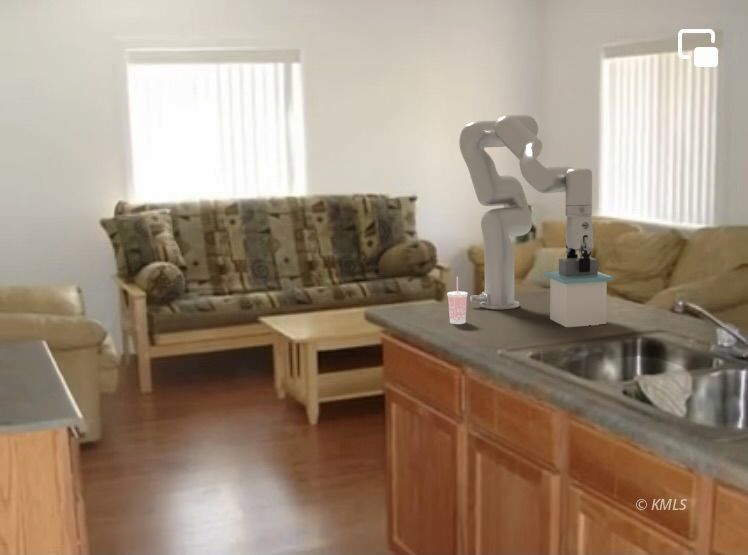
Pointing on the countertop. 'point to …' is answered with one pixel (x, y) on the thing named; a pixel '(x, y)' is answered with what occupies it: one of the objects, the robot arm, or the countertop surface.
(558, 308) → the off-white crate
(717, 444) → the countertop surface
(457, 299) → the beverage cup
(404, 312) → the countertop surface
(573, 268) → the teal lid
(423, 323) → the countertop surface
